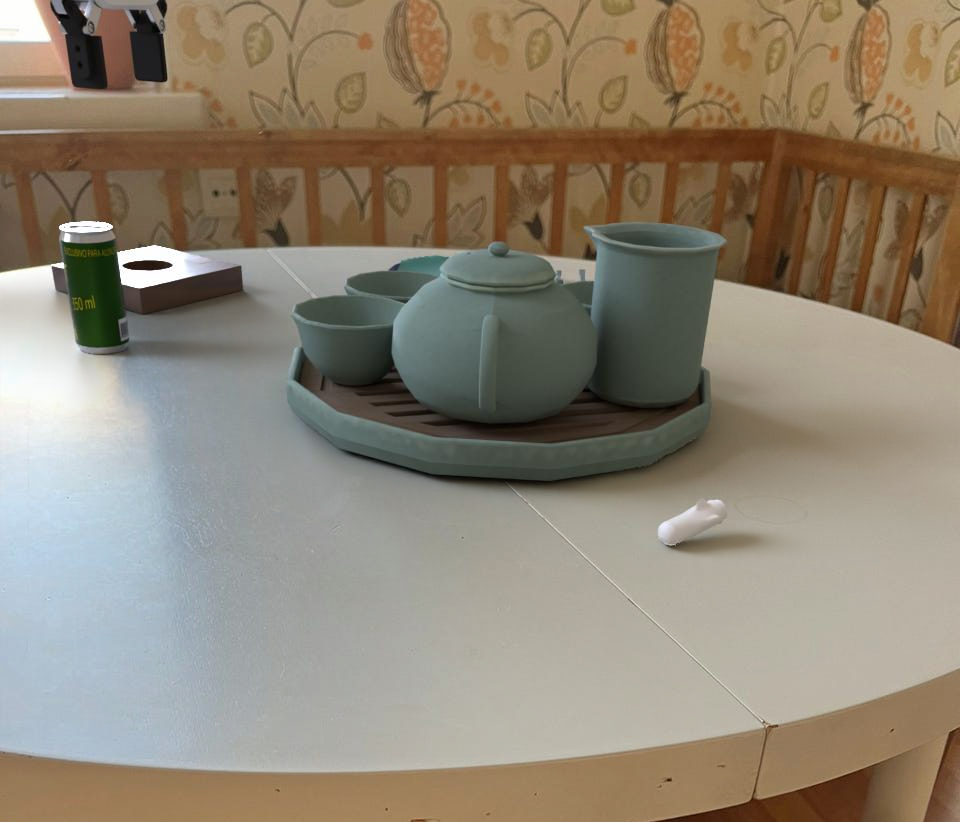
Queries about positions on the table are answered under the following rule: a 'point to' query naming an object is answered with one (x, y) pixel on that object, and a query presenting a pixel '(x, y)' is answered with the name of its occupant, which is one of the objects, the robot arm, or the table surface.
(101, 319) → the beer can
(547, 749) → the table surface
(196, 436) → the table surface
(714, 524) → the small white plastic part
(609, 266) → the tea set
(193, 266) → the holder
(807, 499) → the table surface
